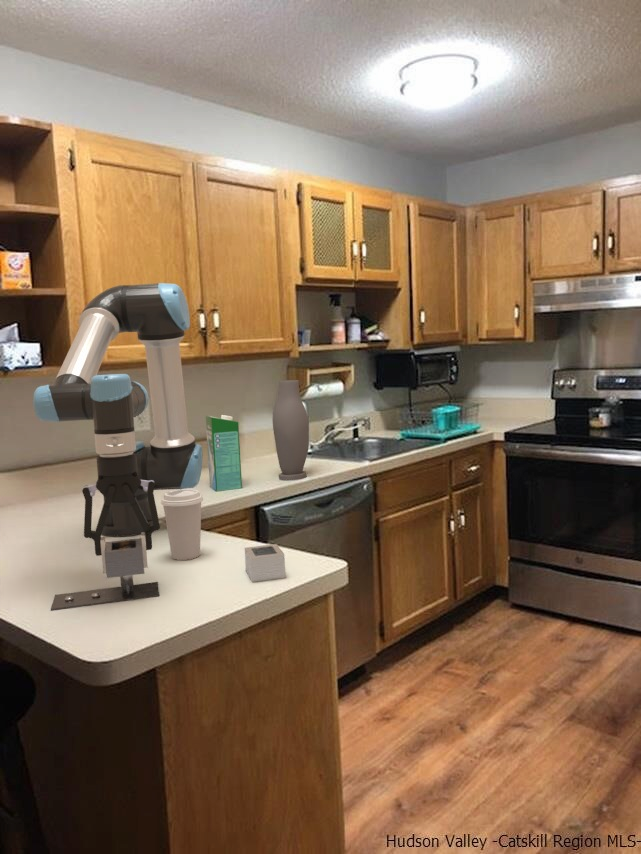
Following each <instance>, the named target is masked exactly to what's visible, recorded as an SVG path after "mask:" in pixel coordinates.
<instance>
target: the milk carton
mask: <svg viewBox="0 0 641 854" xmlns="http://www.w3.org/2000/svg"><path fill="white" fill-rule="evenodd" d="M233 417H234V416H230V415H224V414H221V417H218V416H211V415H205V426H206V441H207V445H206V446H207V459H208V460H207V461H208V472H209V487H210V488H211V489H212V490H214V491H215V492H221V491H229V490H238V489H243V477H242V465H241V462H242V461H241V449H240V448H241V446H240V432H239V431H240V429H239V422H238V421H237V420H234V419H233Z"/></svg>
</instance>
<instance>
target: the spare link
mask: <svg viewBox="0 0 641 854" xmlns="http://www.w3.org/2000/svg"><path fill="white" fill-rule="evenodd" d="M285 561H286V560H285V553H284V552H283V550H282V549H281V548H280V546H279V545H278V544H277V543H274V544H272V543H271V544H265V545H256V546H249V547H244V563H245V572H246V574H247V573H248V574H247V575H249V576H248V577H249V579H250V581H251V583H258V582H263V581H270V580H271V581H272V580H279V579H286V562H285ZM257 581H258V582H257Z"/></svg>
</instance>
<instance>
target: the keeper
mask: <svg viewBox="0 0 641 854" xmlns="http://www.w3.org/2000/svg"><path fill="white" fill-rule="evenodd" d="M128 548H129V547H124V548H120V549H128ZM118 550H119V549H118ZM133 577H134V575H129V576H121V577H119V578H120V579H119V580H120V586H114V587H105V588H97V589H89V590H82V591H76V592H75V591H74V592H68V593H67V592H66V593H58V594H54V598H53V601H52V604H51V606H50V611H58V610H65V609H72V608H81V607H86V606H87V607H88V606H94V605H95V606H96V605H103V604H110V603H118V602H125V601H133V600H142V599H148V598H155V597H160V590H159V582H158V581H155V582H152V581H151V582H145V583H144V582H143V583H136V584H134V580H133V579H134V578H133Z"/></svg>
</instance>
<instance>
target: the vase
mask: <svg viewBox="0 0 641 854" xmlns="http://www.w3.org/2000/svg"><path fill="white" fill-rule="evenodd" d="M307 413H308V412H307V410H306V408H305V405H304V403H303V401H302V399H301V394H300V381H299V379H289V380H288V379H286V380H279V381H278V391H277V395H276V400H275V402H274V406H273V410H272V428H273V429H272V430H273V436H274V442H275V449H276V455H277V459H278V464H279V468H280V471H281V473H278V480H280V481H298V480H303V479H305V478H307V476H308V475H307V471H306V470H304V467H305V465H306V464H305V463H306V461H307V456H308V453H309V448H310V421H309V417H308V414H307Z"/></svg>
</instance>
